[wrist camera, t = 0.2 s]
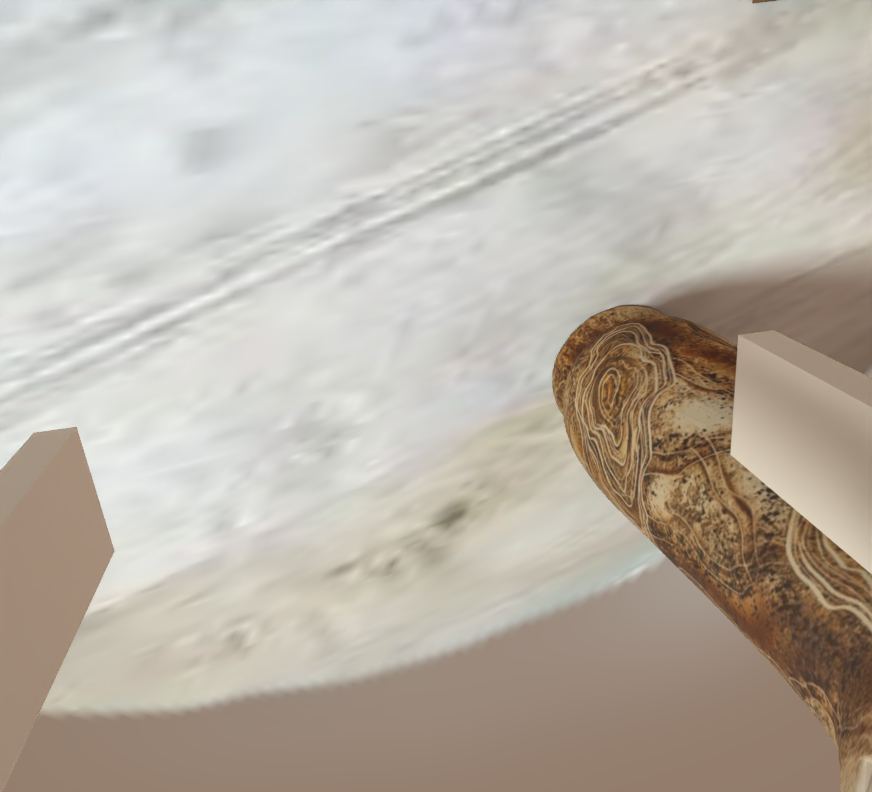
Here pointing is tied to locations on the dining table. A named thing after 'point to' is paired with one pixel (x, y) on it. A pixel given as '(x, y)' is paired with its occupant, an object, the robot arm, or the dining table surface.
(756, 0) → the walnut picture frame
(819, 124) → the dining table surface
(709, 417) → the vase
